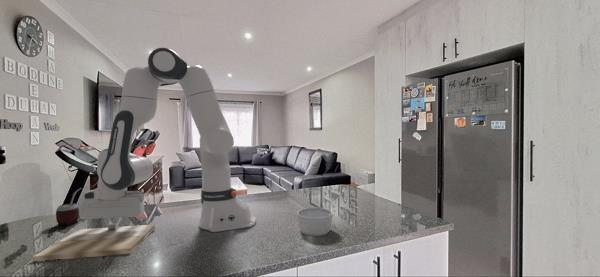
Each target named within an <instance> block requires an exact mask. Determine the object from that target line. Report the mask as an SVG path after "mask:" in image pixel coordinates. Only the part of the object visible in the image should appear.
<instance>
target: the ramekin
mask: <svg viewBox="0 0 600 277" xmlns="http://www.w3.org/2000/svg"><path fill="white" fill-rule="evenodd" d="M296 217H297V221H298V227H299V230H300V232H301V233H303V235H306V236H310V237H320V236H325V235H327V234H328V233H329V232H330V231H331V228H332V220H333V219H332V218H333V212H332V210H330V209H329V208H328V209H327V208H325V207H315V206H314V207H305V208H302V209H299V210H298V211H297V212H296Z"/></svg>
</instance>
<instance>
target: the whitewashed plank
mask: <svg viewBox="0 0 600 277" xmlns="http://www.w3.org/2000/svg"><path fill="white" fill-rule="evenodd" d="M155 228H156V227H155V223H153V224H143V225H142V224H140V225H128V226H127V225H126V226H119V227H118V229H113V230H108V227H97V228H96V227H95V228H80V229H77V230H75V231H74V232H72V233H70V234H68V235H66V236H65V237H64V238H62V239H60V240H58V242H68V241H81V240H95V239H109V238H122V237H136V236H144V241H145V240H146V239H147V238H148V237H149V236H150V234H151V233H152V232H153V231H154V230H155Z"/></svg>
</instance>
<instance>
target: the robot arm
mask: <svg viewBox="0 0 600 277" xmlns="http://www.w3.org/2000/svg"><path fill="white" fill-rule="evenodd" d="M147 65H148V66H146V67H139V66H137V67H131V68H130V69H128V70H127V71H126V73H125V76H124V79H123V83H122V90H121V100H120V106H119V110H118V112H117V114H116V115H115V116H114V119H113V122H112V127H111V133H110V138H109V142H108V148H105V149H102V150H101V151H99V153H98V157H97V162H96V163H97V164H96V165H97V166H96V169H97V170H96V172H97V174H96V175H97V176H98V181H97V187H96V188H93V189H91V190H88V191H85V192H83V193H82V194H81V196H80V197H81V199H82V200H81V201H80V204H79V208H78V209H79V216H78V217H80V219H82V220H92V219H103V221H104V223H105V224H106V226H107V228H108V230H113V229H118V227H120V226H119V224H120V222H121V220H122V219H123V218H129V217H131V218H133V217H135V218H137V217H140V216H142V215H143V214H144V213H145V205H144V204H145V203H144V199H145V198H144V196H145V195H144V193H143V192H141V191H140V190H135V191H134V190H128V187H131V186H134V185H136V184H140V183H142V182H145V181H148V180H149V179H150V178H151V177H152V176H153V174H154V171H155V170H154V169H155V167H154V164H153V161H152V160H151V159H149V157H146V156H142V155H138V154H134V153H132V152H131V150H132V145H133V137H134V135H135V133H136V131H137V130H138V129H139V128H140V127H142V126H144V125H145V124H147V123H149V122H151V120H153V119H154V118H155V116H156V112H157V108H158V91H159V88H160V87H165V86H173V85H176V84H179V85H180V87H181V89H182V91H183V93H184V94H183V95H184V98H185V100H186V102H187V106H188V108H189V111H190V114H191V117H192V120H193V121H194V124H195V126H196V128H197V131H198V135H199V136H200V137H199V151H200V153H199V155H200V165H201V183H202V184H201V185H202V186H201V187H202V188H201V192H200V203H201V211H200V212H201V213H200V218H199V223H198V227H199V228H200V229H203V230H206V231H209V232H211V233H216V232H217V233H218V232H223V231H224V232H225V231H230V230H231V231H232V230H237V229H239V230H240V229H245V228H251V227H253V226H254V225H255V224H256V222H257V218H256V216H255V215H254V214H252V213H251V209H250V207H249V205H248V204H247V203H246V202H244V201H243V200H241V199H240V198H239V197H237V193H238V192H237V189H236V188H233V187H232V183H231V182H232V181H231V180H232V178H231V177H232V176H231V174H232V173H231V172H232V171H231V165H230V160H229V159H230V158H229V152H231V150H232V149H233V147H234V143H235V141H234V137H233V135H232V132H231V130H230V128H229V125H228V123H227V121H226V118H225V117H224V114H223V112H222V110H221V107H220V104H219V101H218V99H217V98H218V97H217V94H216V91H215V89H214V85H213V84H212V80H211V78H210V77H209V74H208V73H207V71H206V69H205V68H204V67H203V66H200V65H197V64H195V65H194V64H193V65H188V62H186V60H184V59H183V58H182V57H181V56H180V55H179V54H178V53H177V52H175V51H174V50H173V49H170V48H168V47H158V48H155V49H154V50H152V51H151V53H150V54H149V55H148V58H147ZM112 218H114V221H115V223H113V222H112V221H111V220H112Z"/></svg>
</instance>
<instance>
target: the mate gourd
mask: <svg viewBox="0 0 600 277" xmlns="http://www.w3.org/2000/svg"><path fill="white" fill-rule="evenodd" d="M81 189H82V187H80V188H79V189H77V190H76V191H75V192H74V193H73V194H72V198H71V200H70V202H69V203H64V204H60V205H59V206H57V208H56V210H55V218H56V219H55V220H56V223H57V227H63V226H64V227H65V226H66V227H71V226H70V225H74V224H78V223H79V221H78V219H79V217H80V216H79V209H80V208H79V206H78V204H76V203H73V202H74V199H75V196H76V194H77V193H78V192H79V191H80V190H81Z"/></svg>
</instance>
